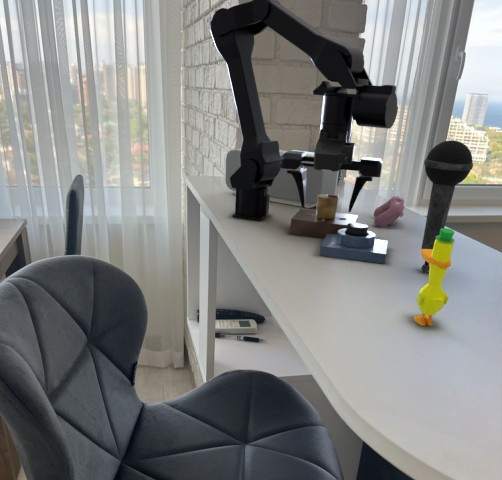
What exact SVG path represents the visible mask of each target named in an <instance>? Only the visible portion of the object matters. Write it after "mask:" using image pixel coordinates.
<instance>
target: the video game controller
mask: <svg viewBox="0 0 502 480" xmlns="http://www.w3.org/2000/svg"><path fill="white" fill-rule="evenodd" d="M404 210H405V199H404V198H403V197H401V196H398V195H397V196H395V195H394V196H392V197H391V198H389V199H388V201H386V202H385V203H383V204H382V205H380V206H378V207H377V208H376V209H375V210H374V211H373V217H374V221H373V223H374V226H375V227H378V228H379V227H380V228H381V227H386V226H388V225H389V226H391V225H392V224H393V223H394V222H395V221H397V220H398V219H399V218H401V219H402V218H403V217H404V215H405V212H404Z"/></svg>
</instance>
